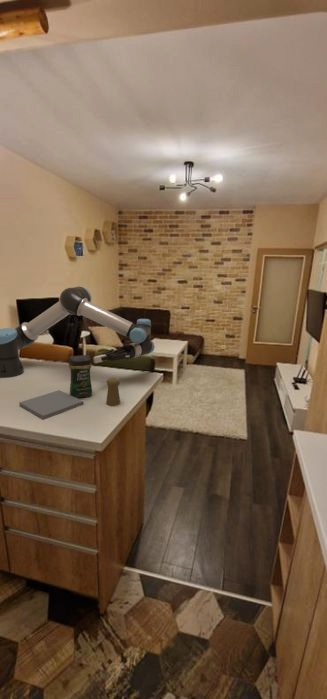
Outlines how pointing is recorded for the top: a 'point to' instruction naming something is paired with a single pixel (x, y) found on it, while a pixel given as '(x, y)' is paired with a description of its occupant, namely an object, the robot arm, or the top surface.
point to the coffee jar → (80, 376)
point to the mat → (51, 404)
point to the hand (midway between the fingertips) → (94, 360)
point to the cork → (113, 392)
